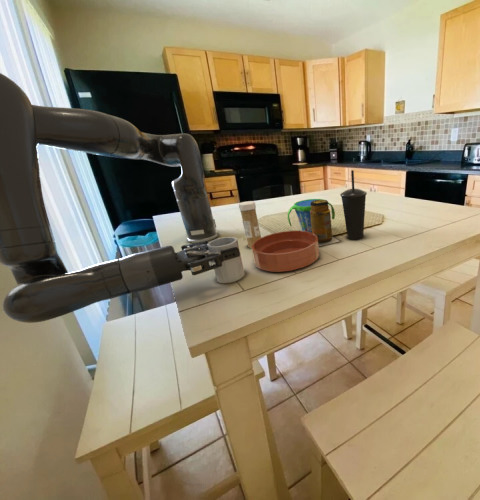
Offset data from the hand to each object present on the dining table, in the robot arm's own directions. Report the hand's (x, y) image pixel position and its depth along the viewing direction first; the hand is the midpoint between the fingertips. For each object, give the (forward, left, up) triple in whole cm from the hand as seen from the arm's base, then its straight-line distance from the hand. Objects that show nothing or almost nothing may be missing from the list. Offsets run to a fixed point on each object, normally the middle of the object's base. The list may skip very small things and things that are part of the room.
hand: (234, 247), depth 63 cm
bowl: (-6, +11, -7) cm, 14 cm away
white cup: (+1, -2, -7) cm, 7 cm away
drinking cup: (-18, +31, -7) cm, 36 cm away
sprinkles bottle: (-19, 0, -7) cm, 20 cm away
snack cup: (-27, +18, -7) cm, 33 cm away
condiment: (-18, +21, -7) cm, 28 cm away
